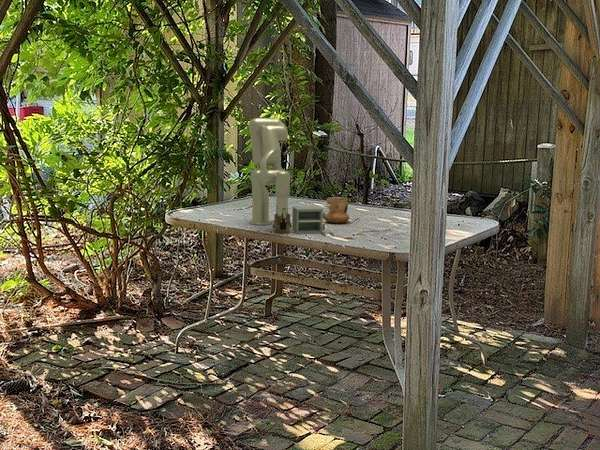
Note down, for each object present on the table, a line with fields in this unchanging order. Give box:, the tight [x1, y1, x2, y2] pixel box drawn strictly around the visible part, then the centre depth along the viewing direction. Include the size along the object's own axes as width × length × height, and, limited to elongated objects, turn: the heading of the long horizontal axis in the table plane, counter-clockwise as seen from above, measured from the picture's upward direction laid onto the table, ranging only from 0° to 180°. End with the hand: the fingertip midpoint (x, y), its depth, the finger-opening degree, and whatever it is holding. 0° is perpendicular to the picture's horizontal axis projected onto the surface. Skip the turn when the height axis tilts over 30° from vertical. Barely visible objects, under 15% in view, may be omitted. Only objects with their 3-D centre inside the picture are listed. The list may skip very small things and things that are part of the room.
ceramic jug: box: [324, 196, 350, 225], centre depth 444 cm, size 18×14×14 cm
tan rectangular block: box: [273, 213, 291, 234], centre depth 406 cm, size 4×8×10 cm, turn 101°
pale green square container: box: [291, 205, 335, 237], centre depth 407 cm, size 22×18×13 cm
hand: (282, 228), depth 407 cm, fingers open, 4 cm apart
